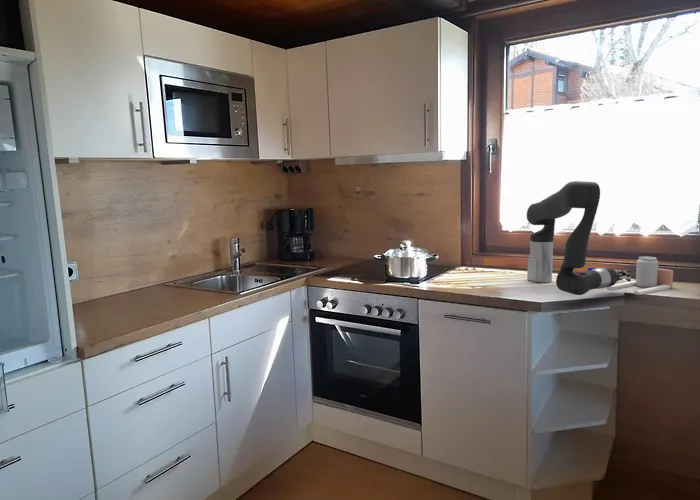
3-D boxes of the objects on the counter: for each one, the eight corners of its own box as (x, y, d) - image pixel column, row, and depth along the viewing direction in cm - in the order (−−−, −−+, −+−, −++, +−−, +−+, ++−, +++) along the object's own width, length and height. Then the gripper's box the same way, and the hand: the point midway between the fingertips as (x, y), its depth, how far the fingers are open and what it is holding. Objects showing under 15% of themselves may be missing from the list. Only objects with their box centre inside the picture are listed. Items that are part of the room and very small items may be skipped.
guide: (639, 295, 195) (640, 276, 194) (607, 288, 206) (608, 271, 205) (672, 287, 206) (673, 270, 205) (640, 282, 217) (641, 265, 216)
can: (641, 288, 205) (643, 258, 204) (631, 284, 213) (633, 255, 211) (660, 288, 205) (662, 258, 203) (650, 284, 212) (652, 255, 211)
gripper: (618, 270, 187) (646, 265, 195) (585, 265, 198) (613, 260, 206) (617, 291, 188) (645, 285, 196) (584, 284, 199) (612, 279, 208)
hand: (628, 272), depth 201 cm, fingers closed
